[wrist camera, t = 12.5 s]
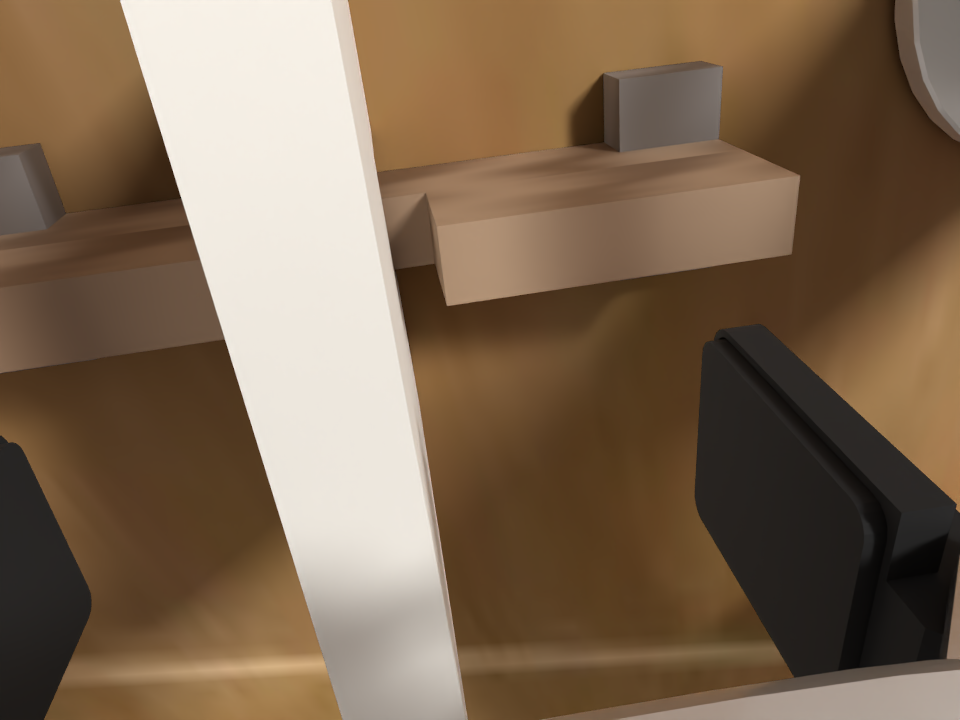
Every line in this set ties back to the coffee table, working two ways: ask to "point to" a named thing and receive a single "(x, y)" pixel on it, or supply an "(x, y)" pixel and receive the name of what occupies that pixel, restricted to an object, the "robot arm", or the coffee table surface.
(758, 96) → the coffee table surface
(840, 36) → the coffee table surface
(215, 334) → the walnut slotted board
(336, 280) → the pale notched plate
